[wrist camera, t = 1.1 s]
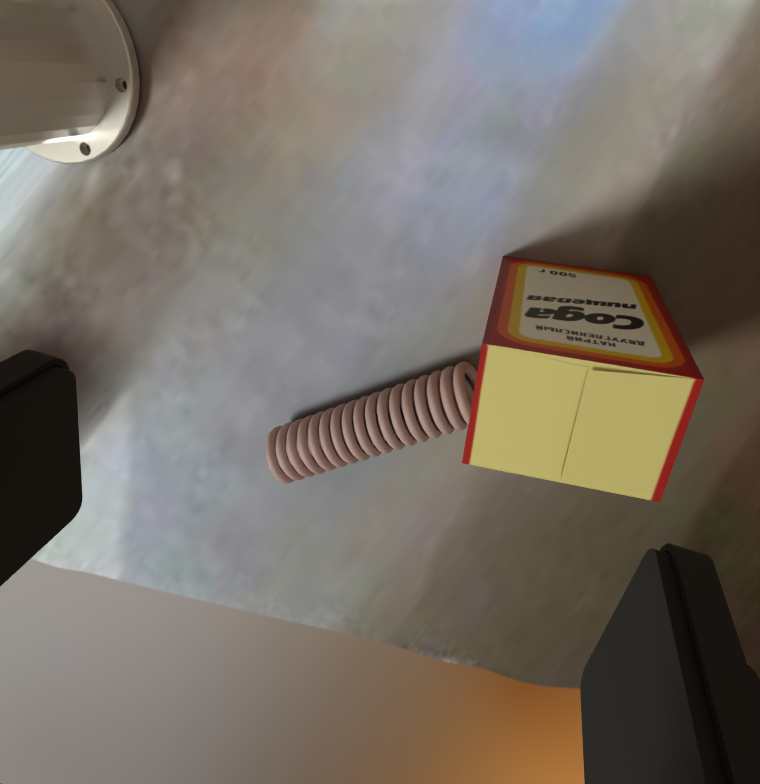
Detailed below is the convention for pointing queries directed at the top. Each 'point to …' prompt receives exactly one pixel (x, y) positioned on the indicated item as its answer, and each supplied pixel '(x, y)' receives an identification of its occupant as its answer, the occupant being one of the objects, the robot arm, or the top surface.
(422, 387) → the coil
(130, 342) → the top surface
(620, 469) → the baking soda box
